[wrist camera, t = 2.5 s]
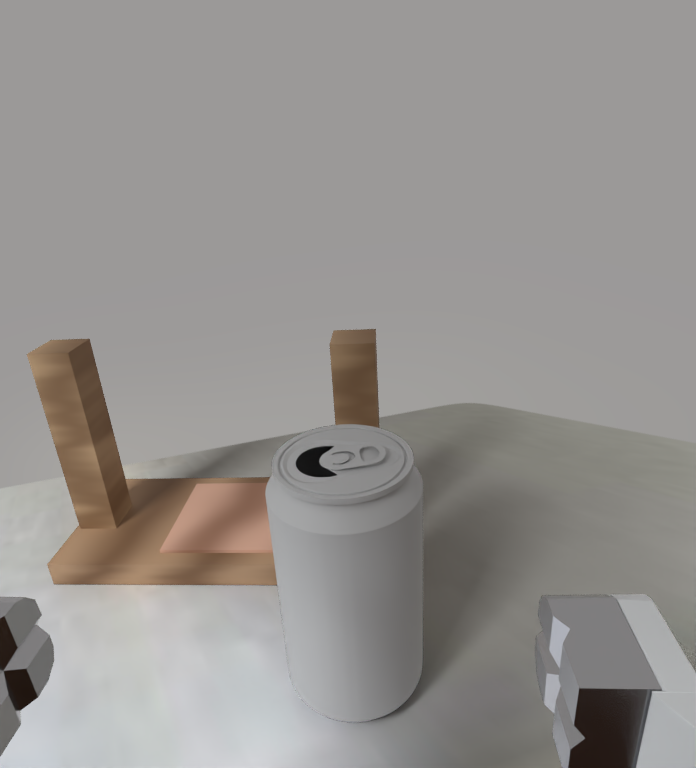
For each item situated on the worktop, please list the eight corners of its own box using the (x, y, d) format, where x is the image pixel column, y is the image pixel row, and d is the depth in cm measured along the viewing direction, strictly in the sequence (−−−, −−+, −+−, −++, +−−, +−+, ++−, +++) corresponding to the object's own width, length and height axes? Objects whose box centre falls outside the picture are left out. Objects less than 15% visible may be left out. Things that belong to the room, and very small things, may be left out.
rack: (54, 584, 33) (-18, 377, 28) (120, 496, 41) (74, 323, 36) (387, 585, 31) (379, 366, 26) (387, 493, 40) (381, 312, 34)
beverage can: (291, 624, 29) (265, 424, 25) (410, 611, 30) (407, 412, 25) (289, 742, 23) (254, 510, 19) (437, 725, 24) (440, 493, 19)
